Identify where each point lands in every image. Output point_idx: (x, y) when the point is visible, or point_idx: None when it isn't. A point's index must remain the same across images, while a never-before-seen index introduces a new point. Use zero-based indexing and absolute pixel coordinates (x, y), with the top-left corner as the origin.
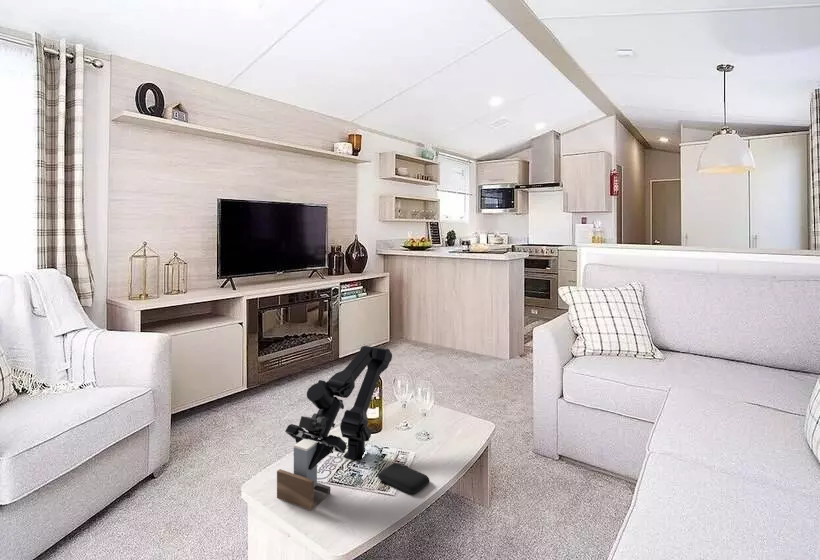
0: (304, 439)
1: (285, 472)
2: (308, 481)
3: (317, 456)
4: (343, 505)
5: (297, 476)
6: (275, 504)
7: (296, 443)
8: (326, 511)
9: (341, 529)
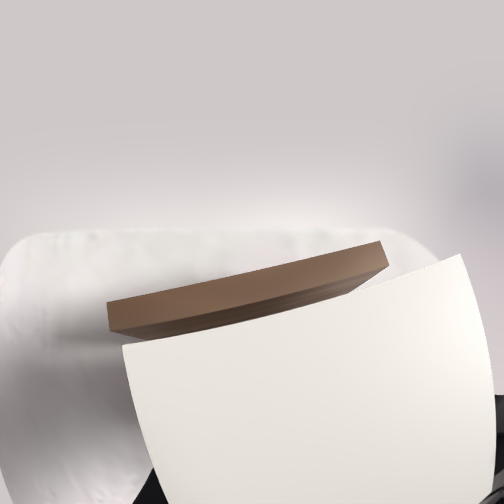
0: (479, 491)
1: (334, 266)
2: (125, 299)
3: (155, 477)
4: (98, 418)
5: (230, 290)
6: (294, 258)
7: (499, 395)
8: (113, 357)
9: (33, 314)
